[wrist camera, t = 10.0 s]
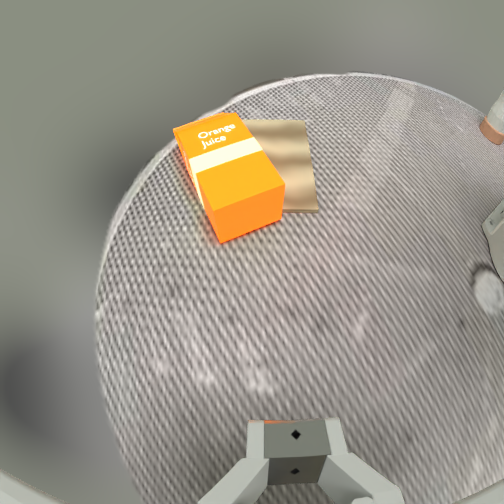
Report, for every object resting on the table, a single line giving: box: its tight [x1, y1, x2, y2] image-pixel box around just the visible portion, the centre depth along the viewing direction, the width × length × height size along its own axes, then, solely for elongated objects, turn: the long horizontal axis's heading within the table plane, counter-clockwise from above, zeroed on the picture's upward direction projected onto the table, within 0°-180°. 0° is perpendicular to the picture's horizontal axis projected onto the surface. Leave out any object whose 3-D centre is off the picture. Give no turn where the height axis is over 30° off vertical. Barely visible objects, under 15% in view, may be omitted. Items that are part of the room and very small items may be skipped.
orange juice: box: [173, 112, 285, 243], centre depth 40 cm, size 8×9×20 cm
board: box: [241, 120, 319, 213], centre depth 46 cm, size 20×14×1 cm
